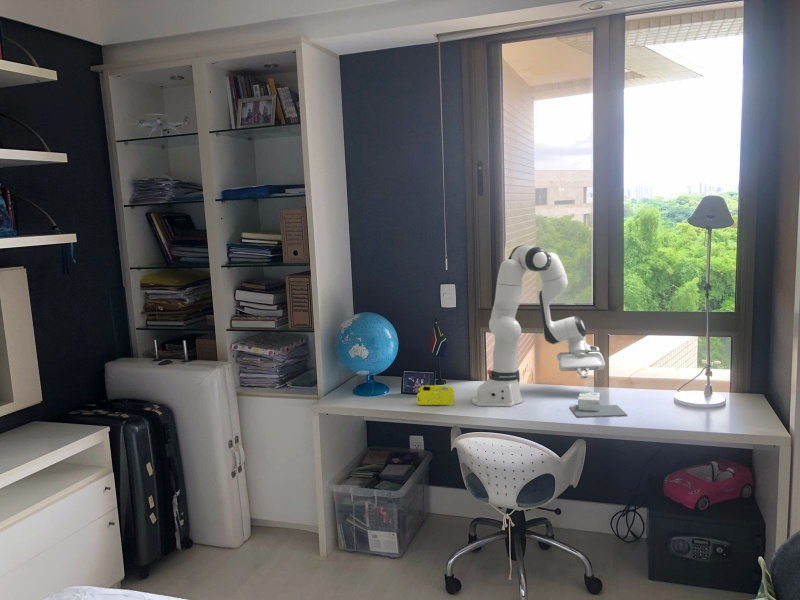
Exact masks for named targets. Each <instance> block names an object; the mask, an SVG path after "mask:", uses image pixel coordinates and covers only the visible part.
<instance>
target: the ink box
mask: <svg viewBox="0 0 800 600" xmlns="http://www.w3.org/2000/svg"><path fill="white" fill-rule="evenodd" d="M600 395H601V394H600V392H585V391H584V392H583V391H582V392H579V394H578V397H577V406H578V410H587V411H599V406H600V405H601V396H600Z"/></svg>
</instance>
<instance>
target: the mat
mask: <svg viewBox="0 0 800 600" xmlns="http://www.w3.org/2000/svg"><path fill="white" fill-rule="evenodd" d="M569 409H570V410H571V411H572V413H573V414H574V415H575V417H576V418H578V419H579V418H601V417H602V418H607V417H627V416H628V413H626V412H625V411H624V410H623V409H622V408H621V407H620V406H619V405H618V404H607V405H606V404H605V405H603V404H602V405H601V404H600V406H599V411H587V410H578V405H575V406H571V405H570V406H569Z"/></svg>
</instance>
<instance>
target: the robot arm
mask: <svg viewBox="0 0 800 600" xmlns="http://www.w3.org/2000/svg"><path fill="white" fill-rule="evenodd" d="M527 271H528V272H538V273H539V277H540V280H541V284H542V288H541V290H540V291H539V295H538V296H539V297H538V300H539V308H540V314H541V320H542V326H543V327H542V328H543V329H542V333H543V338H544V339H545V341H546V342H547V343H549V344H551V345H556V344H559V343H561V342H563V341H566V342H567V344H568V346H567V349H568V351H566V352H564V351H563V352H559V353H558V354H556V358H557V360H558V368H559V370H560V371H561V372H575V371H576V373H577V374H578V375H579V376H580V379H588V377H589V372H590V371H602V370H604V369H605V367H606V362H605V359H604V355H603V354H602V353H601V352H600V348H599V346H595V345H591V344H588V343H587V336H586V335H587V330H586V325H585V323H584V321H583V319H582V318H580V317H579V316H569V317H566V318H563V319H559V320H555V321H553V320H552V317H551V309H550V305H551V304H552V302H553V301H554V300H556V299H557V298H558V297H560V296H561V295H562V294H564V292H565V291H566V290H567V288H568V284H569V280H568V275H567V272H566V270H565V267H564V265H563V263H562V260H561V259H560V257H559V256H558V254H557V253H555V252H552V251H551V252H547V251H546V250H545V249H543V248H542V247H541V246H540V247H539V246H533V245H531V244H530V245H524V244H521V245H518V246H516V247H514V248H513V249H512V250H511V252H510V254H509V256H508V258H507V259H505V260H503V261H502V262H501V264H500V266H499V270H498V274H497V279H496V287H495V295H494V302H493V303H494V304H493V306H492V309H491V315H490V319H489V321H488V327H489V331H490V333H491V334H492V335H493V336H494V347H493V352H492V370H491V369H488V370H487V371H486V373H487V375H488V379H487V380H485V381H484V382H483V383H481V384H480V385H479V386H478V388H477V391H476V395H474V396H473V397H472V399H471V400H472V401H471V402H472V403H473V405H475V406H477V407H513V406H514V405H517V404H520V403H522V402H524V399H523V397H522V394H521V388H520V379H521V377H520V369H519V346H520V341H521V340H520V339H521V338H520V337H521V335H522V327H521V325H520V323H519V321H518V320H517V319H516V316H517V312H518V308H519V306H520V304H521V298H522V296H521V295H522V288H523V287H522V286H523V277H524V275H525V273H526V272H527ZM582 371H585V373H583V372H582Z"/></svg>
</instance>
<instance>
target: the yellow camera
mask: <svg viewBox="0 0 800 600" xmlns="http://www.w3.org/2000/svg"><path fill="white" fill-rule="evenodd" d="M417 390H418V392H417V394H416V397H417V399H416V400H417V405H418V406H419V405H420V406H443V405H444V406H452V405H454V403H455V393H454V392H455V390H454V388H453V387H452V386H451V385H447V384H446V385H443V384H441V385H422V386H421V385H420V387H419V388H418V389H417Z"/></svg>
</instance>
